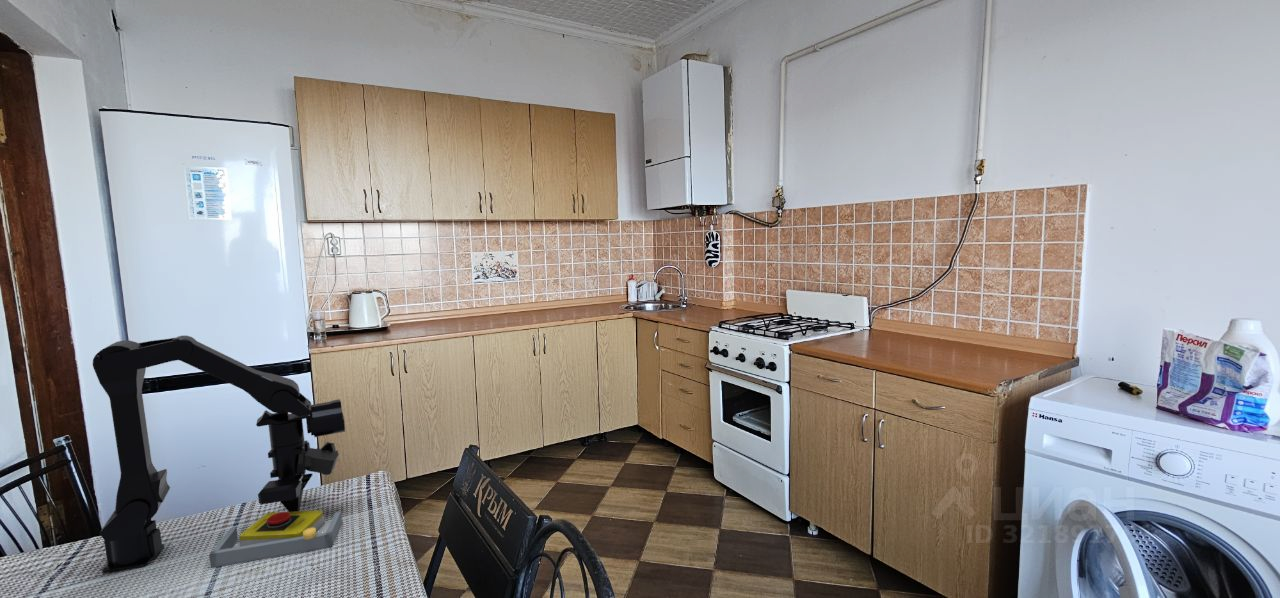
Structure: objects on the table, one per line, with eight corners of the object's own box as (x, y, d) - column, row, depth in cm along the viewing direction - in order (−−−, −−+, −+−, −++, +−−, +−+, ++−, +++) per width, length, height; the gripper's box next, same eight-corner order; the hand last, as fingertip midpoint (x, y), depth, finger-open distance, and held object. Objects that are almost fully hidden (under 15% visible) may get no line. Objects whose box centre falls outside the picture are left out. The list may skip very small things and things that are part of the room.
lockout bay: (209, 569, 96) (207, 549, 95) (231, 540, 105) (229, 522, 104) (331, 548, 101) (329, 529, 101) (342, 522, 110) (340, 505, 110)
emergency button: (259, 506, 110) (335, 503, 111) (262, 527, 111) (337, 523, 111) (227, 531, 101) (310, 527, 101) (229, 553, 101) (312, 549, 102)
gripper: (321, 453, 103) (329, 530, 105) (342, 421, 121) (348, 488, 123) (252, 462, 100) (262, 542, 102) (284, 428, 118) (292, 496, 120)
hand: (295, 514), depth 112 cm, fingers closed
